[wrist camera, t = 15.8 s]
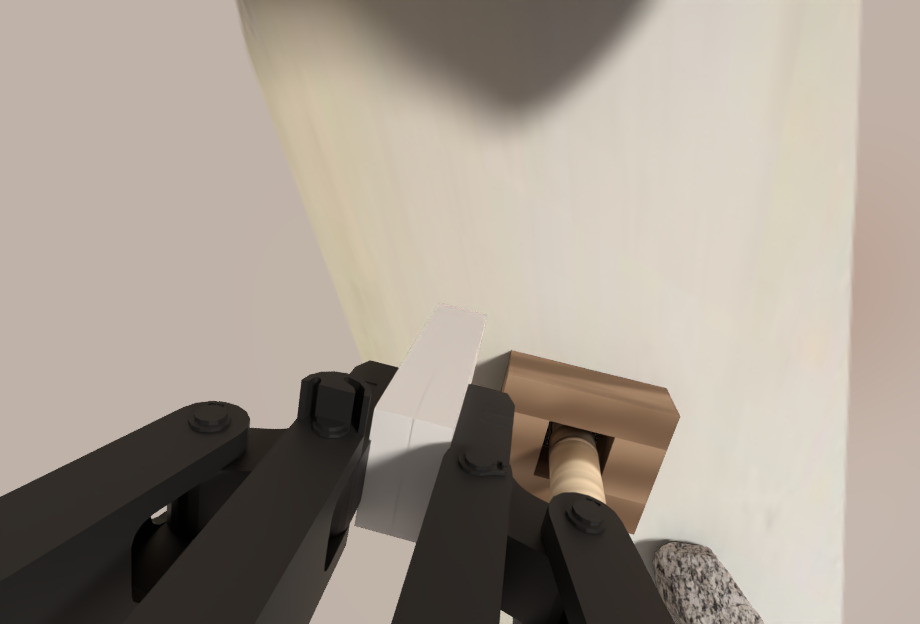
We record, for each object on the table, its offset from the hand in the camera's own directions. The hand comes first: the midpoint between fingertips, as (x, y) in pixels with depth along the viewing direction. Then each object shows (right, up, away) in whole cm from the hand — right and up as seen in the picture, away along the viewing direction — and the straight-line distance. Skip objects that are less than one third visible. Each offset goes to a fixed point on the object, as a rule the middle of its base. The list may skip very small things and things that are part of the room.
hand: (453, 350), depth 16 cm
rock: (+24, -26, +38) cm, 52 cm away
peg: (+10, -10, +34) cm, 37 cm away
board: (+10, -10, +34) cm, 37 cm away
